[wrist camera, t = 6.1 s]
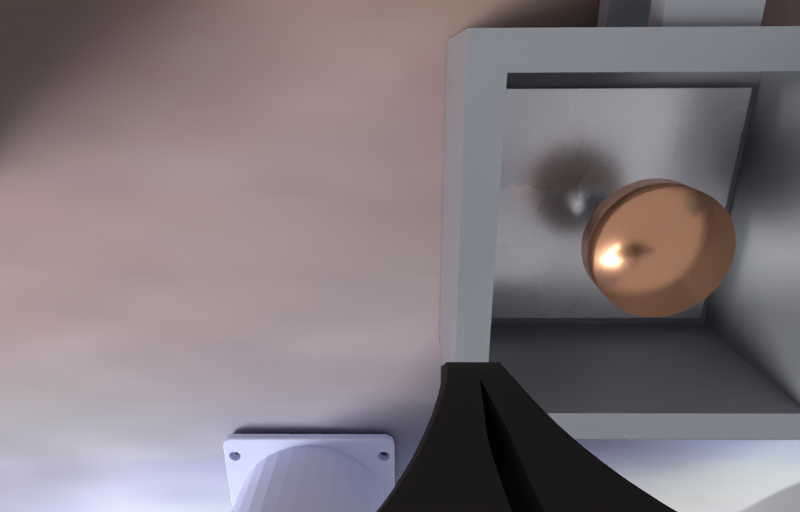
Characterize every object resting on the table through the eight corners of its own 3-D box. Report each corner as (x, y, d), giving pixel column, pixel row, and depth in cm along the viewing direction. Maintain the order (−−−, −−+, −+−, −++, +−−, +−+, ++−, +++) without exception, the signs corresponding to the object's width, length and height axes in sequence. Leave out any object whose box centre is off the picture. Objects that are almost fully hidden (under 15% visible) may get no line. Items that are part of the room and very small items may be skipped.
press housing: (714, 337, 22) (831, 439, 16) (439, 337, 22) (452, 439, 16) (807, -53, 17) (1031, -118, 11) (448, -50, 17) (473, -113, 11)
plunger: (692, 311, 21) (778, 384, 16) (479, 311, 21) (501, 384, 16) (741, 87, 18) (866, 95, 13) (491, 88, 18) (524, 96, 13)
